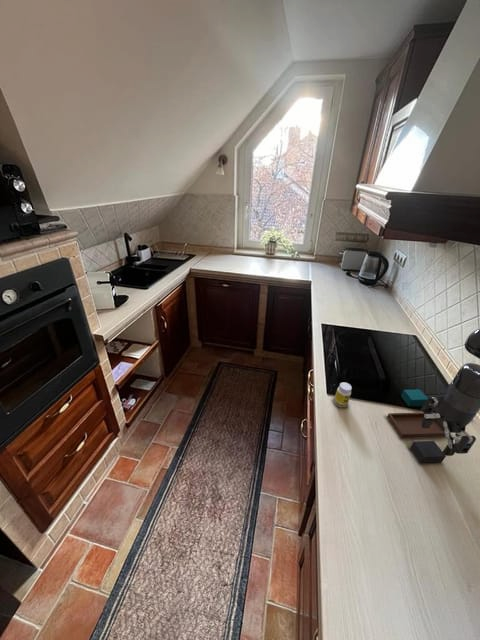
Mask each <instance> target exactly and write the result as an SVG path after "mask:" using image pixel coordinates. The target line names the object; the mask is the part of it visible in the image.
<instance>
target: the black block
mask: <svg viewBox="0 0 480 640" xmlns="http://www.w3.org/2000/svg"><path fill="white" fill-rule="evenodd" d="M409 449H410V451H411V453H412V454H413V456H414V458H415V459H416V460H417V461H418V463H419V464H420V465H425V464H426V465H430V464H431V465H432V464H442V463H443V461H444V460H445V459H446V457H447V456H444V455H443V454H442V451H443V450H442V449H441V447H440V446H439V445H438V443H437V442H436V441H435V440H418V441H417V440H414V441H413V442H412V444H411V445H410V447H409Z"/></svg>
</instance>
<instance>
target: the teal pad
mask: <svg viewBox="0 0 480 640" xmlns="http://www.w3.org/2000/svg"><path fill="white" fill-rule="evenodd" d="M400 398H402V400H403V401H404V402H405V404H406V405H407V406H408V407H423V405H424V404H425V402H426V401H427V399H428V398H429V397H427V396H426V394H425V393H424V392H423V391H422V390H421V389H420V388H419V389H403V390H402V393H401V395H400Z"/></svg>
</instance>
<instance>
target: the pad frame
mask: <svg viewBox="0 0 480 640" xmlns="http://www.w3.org/2000/svg"><path fill="white" fill-rule="evenodd" d="M432 414H435V413H434V412H433V411H432ZM424 415H425V414H424V412H422V411H421V412H389V413H388V414H387V416H386V418H387V420H388V422H389V423H390V424H391V426H392V428H393V429H394V431H395V432H396V434H397V435H398V437H399V438H400V439H421V438H423V439H424V438H425V439H426V438H427V439H428V438H446V437H445V431H444V430H443V429H442V427H441V426H440V425H439V424H438V423H437V420H436V418H433V419H434V421H433V423H432V424H431V426H430V428H422V426H421V425H422V421H423V419H424V418H425V417H424Z"/></svg>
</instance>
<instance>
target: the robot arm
mask: <svg viewBox="0 0 480 640" xmlns="http://www.w3.org/2000/svg"><path fill="white" fill-rule="evenodd" d="M464 348H465V350H466V352H468V353H469V354H471V355H472V356H473V357H475V358H477V359H479V360H480V327H479V328H477V329H476V330H474V331H472V332H471V333H470V334H469V335H468V336H467V337H466V338H465V342H464ZM427 398H428V399H427V401H426V402H425V404H424V405H423V406H421V407H420V411H421V412H424V414H425V415H424V417H425V418H424V419H423V421H422V425H421V426H422V428H430V426H431V424H432V423H433V421H434V419H433V418H436V420H437V423H438V424H439V425H440V426H441V427H442V429H443V430H444V431H445V437H444V438H445V439H447V445H446V446H445V447H444V449H443V450H442V454H443V455H444V456H446V457H452V456H454V455H455V454H459V455H461V454H462V455H463V454H468V453H469V452H470V450H471V448H472V447H473V445H474V444H475V442H476V440H477V438H476V436H474V435H470V434H469V433H468V432H467V431H466V427H467V426H468V425H469V424H471V422H472V421H473V420H474V418H475V417H476V415H477V414H478V413H479V412H480V364H478V363H473V362H467V363H464V364H462V365H461V366H460V368H459V370H458V371H457V372H456V374H455V376H454V377H453V379H452V381H450V383H449V384H448V385H447V387H446V388H445V389H444V392H443V393H442V394H441V396H440V398H439V397H437V396H436V397H434V396H433V397H432V396H431V397H427ZM434 409H435V410H434ZM433 411H434V412H435V413H434V414H432V412H433Z"/></svg>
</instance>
